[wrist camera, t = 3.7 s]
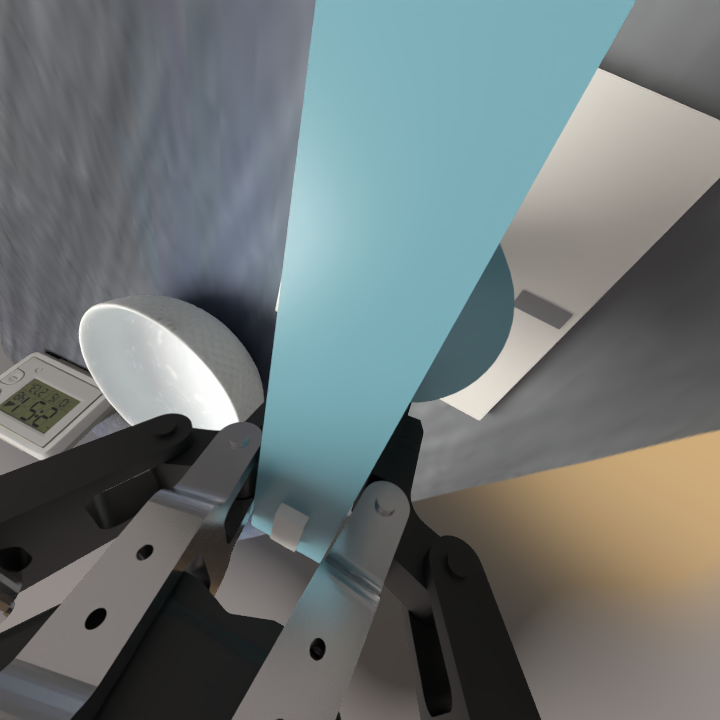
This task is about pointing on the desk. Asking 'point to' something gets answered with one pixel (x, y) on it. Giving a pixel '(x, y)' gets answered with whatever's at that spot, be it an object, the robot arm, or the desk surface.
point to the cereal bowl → (169, 362)
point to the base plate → (594, 216)
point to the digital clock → (49, 405)
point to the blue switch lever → (405, 225)
